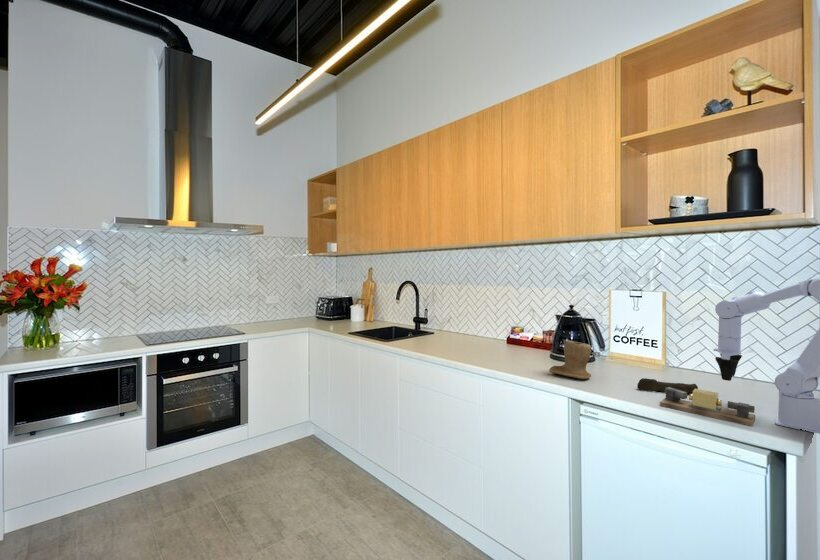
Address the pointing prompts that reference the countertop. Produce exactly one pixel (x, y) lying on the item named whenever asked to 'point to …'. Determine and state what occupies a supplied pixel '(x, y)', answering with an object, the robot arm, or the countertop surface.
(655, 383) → the hand tool
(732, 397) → the countertop surface
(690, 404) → the shaft stand
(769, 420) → the countertop surface
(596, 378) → the countertop surface
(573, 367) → the brown flared stand
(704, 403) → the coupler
